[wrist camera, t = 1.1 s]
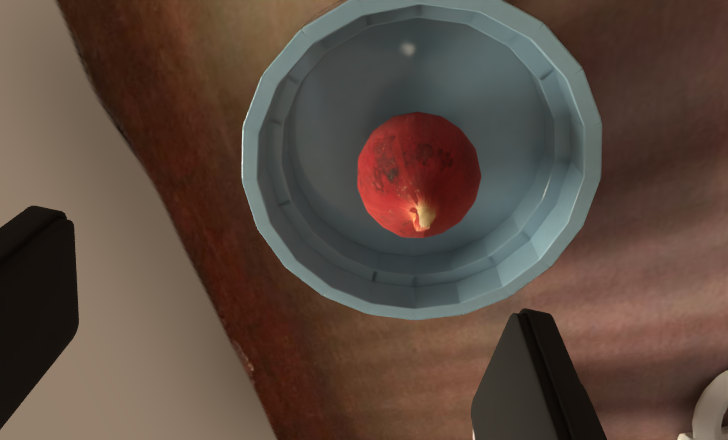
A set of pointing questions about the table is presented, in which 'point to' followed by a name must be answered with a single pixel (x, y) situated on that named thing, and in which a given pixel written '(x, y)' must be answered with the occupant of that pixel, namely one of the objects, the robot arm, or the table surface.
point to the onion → (418, 175)
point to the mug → (710, 412)
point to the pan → (433, 96)
